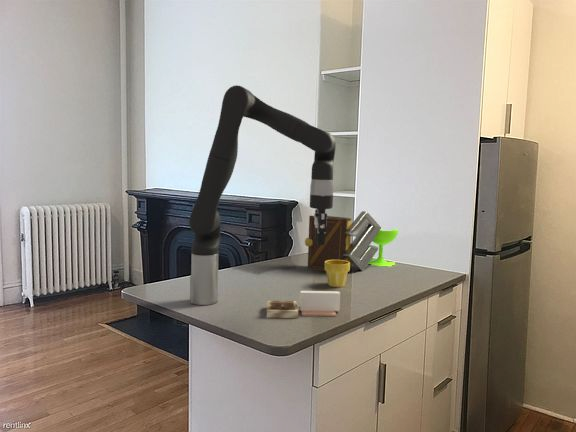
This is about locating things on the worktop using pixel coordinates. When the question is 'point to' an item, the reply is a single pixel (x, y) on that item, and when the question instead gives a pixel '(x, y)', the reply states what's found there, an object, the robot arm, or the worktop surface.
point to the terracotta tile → (318, 313)
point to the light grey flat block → (320, 301)
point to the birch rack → (282, 311)
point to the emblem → (362, 241)
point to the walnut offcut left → (276, 305)
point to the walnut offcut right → (288, 305)
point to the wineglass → (382, 239)
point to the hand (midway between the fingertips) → (319, 242)
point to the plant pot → (337, 272)
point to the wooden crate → (328, 242)
